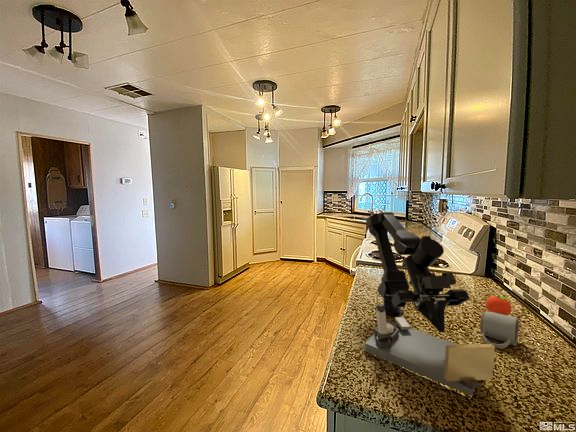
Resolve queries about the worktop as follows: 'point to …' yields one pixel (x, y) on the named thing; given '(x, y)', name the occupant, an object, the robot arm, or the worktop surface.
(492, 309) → the red tomato
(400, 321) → the block
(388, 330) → the push button
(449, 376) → the brass paddle
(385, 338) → the steel lever
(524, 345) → the worktop surface
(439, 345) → the panel
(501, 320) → the ceramic mug
